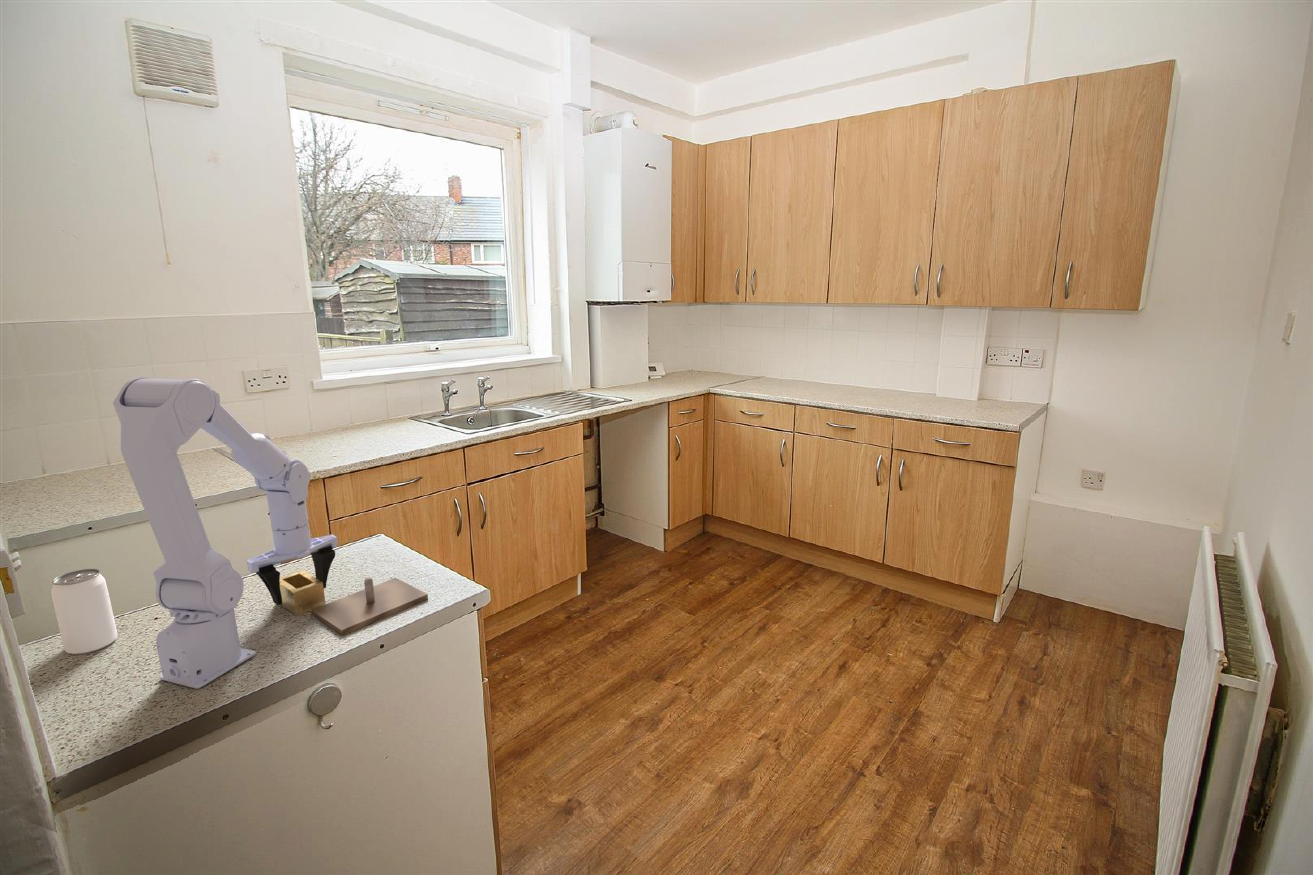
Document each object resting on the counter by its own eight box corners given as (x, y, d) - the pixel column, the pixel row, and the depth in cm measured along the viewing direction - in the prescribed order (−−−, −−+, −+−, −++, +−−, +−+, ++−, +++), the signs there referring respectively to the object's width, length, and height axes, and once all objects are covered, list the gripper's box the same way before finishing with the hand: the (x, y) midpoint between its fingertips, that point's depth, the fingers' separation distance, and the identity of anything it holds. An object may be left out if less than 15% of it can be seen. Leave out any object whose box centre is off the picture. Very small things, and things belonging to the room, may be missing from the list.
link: (325, 604, 114) (322, 582, 113) (296, 615, 110) (293, 592, 109) (305, 592, 119) (302, 570, 118) (277, 602, 115) (273, 579, 114)
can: (128, 634, 104) (114, 568, 102) (90, 657, 98) (74, 586, 95) (93, 632, 105) (78, 566, 102) (53, 654, 99) (36, 584, 96)
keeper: (342, 635, 104) (338, 604, 103) (311, 614, 111) (307, 585, 109) (428, 599, 117) (425, 570, 115) (395, 582, 123) (393, 555, 122)
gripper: (254, 543, 103) (266, 617, 106) (342, 518, 114) (350, 586, 118) (237, 533, 107) (249, 605, 111) (323, 509, 119) (332, 575, 122)
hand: (300, 594), depth 114 cm, fingers open, 7 cm apart
